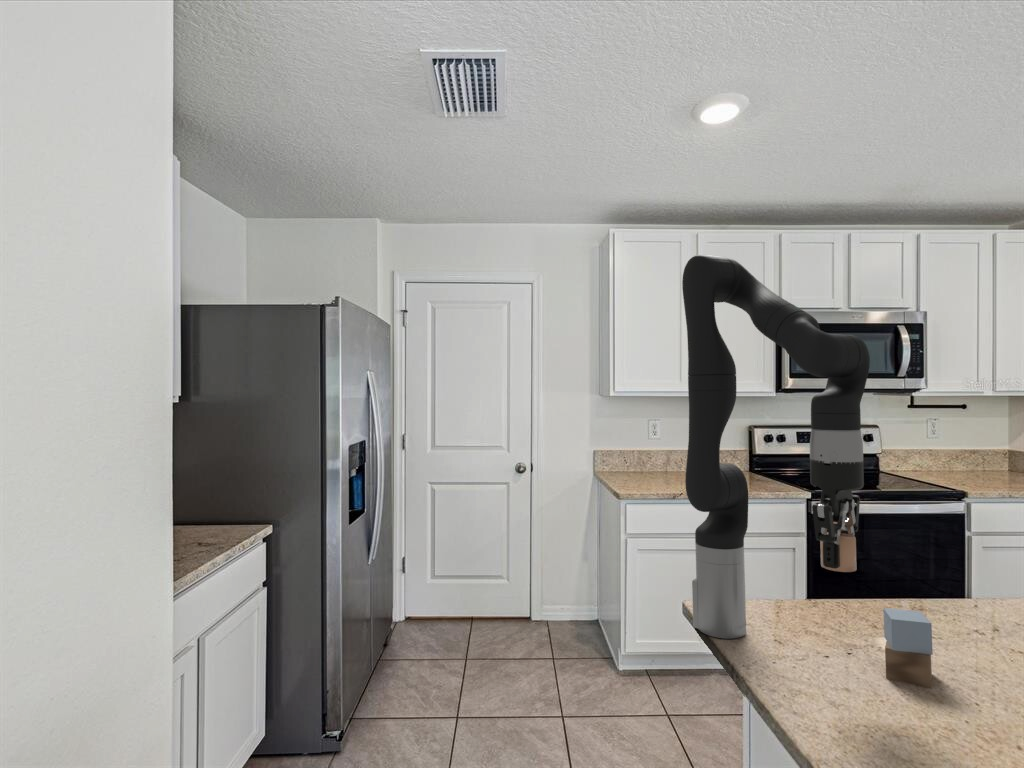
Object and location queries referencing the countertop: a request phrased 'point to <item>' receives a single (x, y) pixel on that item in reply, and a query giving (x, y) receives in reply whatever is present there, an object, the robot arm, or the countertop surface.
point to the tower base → (908, 667)
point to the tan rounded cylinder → (844, 554)
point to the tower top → (908, 631)
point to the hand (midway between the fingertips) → (838, 563)
